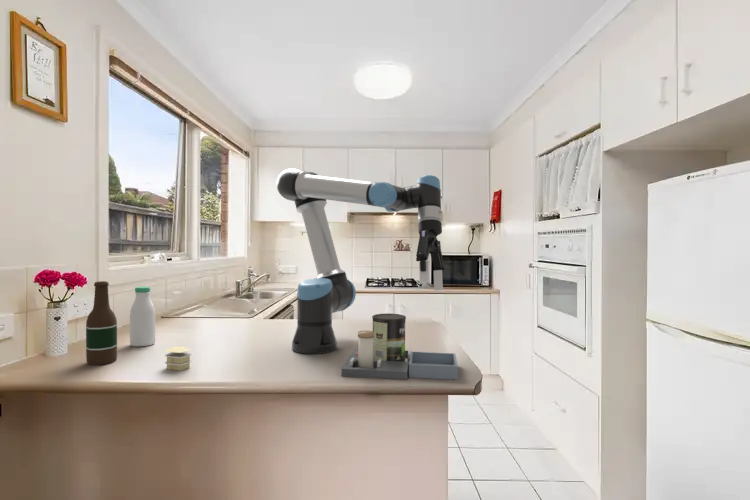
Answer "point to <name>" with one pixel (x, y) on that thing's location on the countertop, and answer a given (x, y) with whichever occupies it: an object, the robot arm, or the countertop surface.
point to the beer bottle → (101, 329)
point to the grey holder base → (383, 368)
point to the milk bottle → (142, 319)
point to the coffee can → (389, 337)
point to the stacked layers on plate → (178, 358)
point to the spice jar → (365, 349)
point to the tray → (433, 365)
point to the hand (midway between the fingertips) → (431, 286)
